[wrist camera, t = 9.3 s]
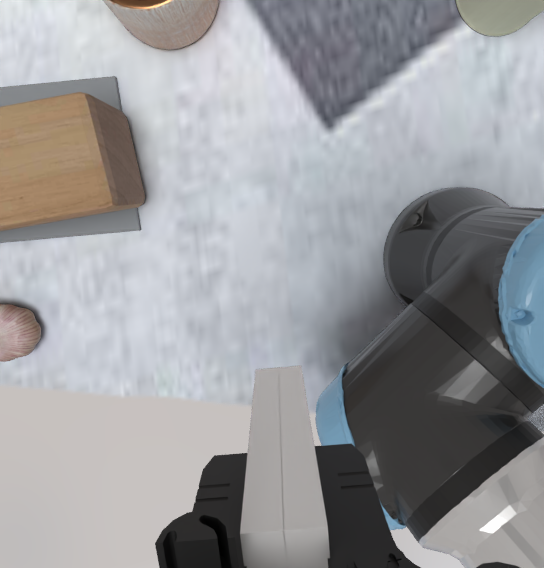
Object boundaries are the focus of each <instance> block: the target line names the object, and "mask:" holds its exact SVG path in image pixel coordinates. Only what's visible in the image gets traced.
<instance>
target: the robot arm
mask: <svg viewBox="0 0 544 568" xmlns="http://www.w3.org/2000/svg"><path fill="white" fill-rule="evenodd" d="M384 269H385V274H386V277H387V280H388V283H389V285H390V287H391V289H392V290H393V292H394V293H395V295H396V296H397V297H398V298H399V299H400V300H401V301H402V302H403V303H404V304H405V305H406V306H407V308H406V309H405V310H404V311H403V312H402V313H401V314H400V315H398V316H397V317H396V318H395V319H394V320H393V321H392V322H391V323H390V324H389V325H388V326H387V327H386V328H385V329H384V330H383V331H382V332H381V333H380V334H379V335H378V336H377V337H376V338H375V339H374V340H373V341H372V342H371V343H370V344H369V345H367V346H366V347H365V348H364V349H363V350H362V351H361V352H360V353H359V354H358V355H357V356H356V357H355V358H354V359H353V360H352V361H351V362H349V363H347V364H345V365H344V366H343V367H342V368H341V370H340V372H339V375H338V376H337V377H336V378H335V379H334V380H333V382H332V383H331V384H330V385H329V386H328V387H327V388H326V389H325V390H324V391H323V393H322V394H321V395H320V397H319V399H318V402H317V405H316V427H317V432H318V436H319V439H320V442H321V445H322V446H314V441H313V435H312V428H311V422H310V416H309V410H308V404H307V398H306V392H305V386H304V380H303V374H302V368H301V366H291V367H279V368H267V369H256V370H255V381H254V391H253V402H252V413H251V423H250V433H249V434H250V435H249V444H248V453H242V454H230V455H217V456H214V457H213V458H212V459H211V461H210V462H209V463H208V464H207V465H206V467H205V468H204V469H203V472H202V475H201V480H200V483H199V489H198V492H197V496H196V503H195V504H194V508H193V511H192V512H189V513H186V514H184V515H182V516H181V517H179V518H177V519H175V520H173V521H172V522H171V523H170V524H169V525H168V526H167V527H166V528H165V529H164V530H163V531H162V532H161V534H160V536H159V538H158V539H157V541H156V543H155V545H156V550H157V555H158V561H159V566H160V568H420V567H419V566H417V565H415V564H414V563H412V562H411V561H410V560H409V559H407V558H406V557H405V555H404V554H403V552H402V551H400V550H399V549H398V548H397V546H396V544H395V542H394V540H393V538H392V536H391V532H390V530H395V529H403V528H405V527H406V526H407V528H408V529H409V530H410V532H411V533H412V534H413V536H414V537H415V539H416V540H417V541H418V543H419V544H420V545H421V546H422V547H423V548H426V549H430V550H434V551H438V552H442V553H446V554H450V555H451V556H453V557H455V558H457V559H458V560H460V562H461V563H462V565H463V566H464V567H465V568H544V434H542V433H541V432H540V431H539V430H538V429H537V428H536V427H535V426H534V425H533V424H531V423H530V422H529V421H528V417H529V416H530V415H531V414H532V413H533V412H534V411H536V410H537V409H538V408H539V407H540V406H541V405H543V404H544V209H541V208H518V207H509V206H508V205H507V204H506V203H505V202H504V201H503V200H501V199H500V198H498V197H497V196H495V195H493V194H491V193H489V192H486V191H483V190H479V189H474V188H445V189H440V190H436V191H433V192H430V193H428V194H426V195H424V196H422V197H420V198H418V199H417V200H415V201H414V202H413V203H411V204H410V205H409V206H408V207H407V208H406V209H405V210H404V211H403V212H402V213H401V214H400V215H399V216H398V218H397V219H396V221H395V222H394V224H393V226H392V227H391V229H390V231H389V234H388V236H387V240H386V243H385V248H384ZM531 412H532V413H531Z"/></svg>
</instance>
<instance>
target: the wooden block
mask: <svg viewBox="0 0 544 568" xmlns="http://www.w3.org/2000/svg"><path fill="white" fill-rule="evenodd" d="M144 201H145V193H144V189H143V185H142V180H141V176H140V172H139V168H138V163H137V159H136V155H135V150H134V146H133V142H132V138H131V133H130V129H129V125H128V121H127V118H126V116H125V115H124V113H123V112H122V111H120V110H118V109H116V108H114V107H112V106H110V105H108V104H107V103H105V102H103V101H101V100H99V99H97V98H95V97H93V96H91V95H90V94H87V93H82V92H76V93H71V94H65V95H60V96H55V97H49V98H44V99H39V100H33V101H28V102H23V103H17V104H12V105H6V106H1V107H0V231H5V230H11V229H17V228H22V227H28V226H34V225H39V224H45V223H51V222H57V221H62V220H68V219H74V218H79V217H85V216H91V215H97V214H102V213H108V212H114V211H119V210H125V209H131V208H137V207H139V206H141V205H142V204H144Z"/></svg>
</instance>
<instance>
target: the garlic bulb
mask: <svg viewBox="0 0 544 568" xmlns="http://www.w3.org/2000/svg"><path fill="white" fill-rule="evenodd" d="M40 337H41V327H40V325H39V324H38V323H37V321H36V320H35V316H34V314H33V313H32V311H30V310H28V309H26V308H19V307H17V306H14V305H10V304H6V305H3V304H0V361H3V362H5V361H10V360H13V359H15V358H18V357H23V356H26V355H28V354H30V353H31V352H32V351H33V350H34V348H35V346H36V344H37V343H38V342H39V340H40Z"/></svg>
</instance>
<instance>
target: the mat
mask: <svg viewBox="0 0 544 568" xmlns="http://www.w3.org/2000/svg"><path fill="white" fill-rule="evenodd" d="M76 92H82V93H87V94H90V95H91V96H93V97H95V98H97V99H99V100H101V101H103V102H105V103H107V104H108V105H110V106H112V107H114V108H116V109H118V110H120V111H122V108H121V102H120V96H119V89H118V83H117V78H116V77H115V76H113V77H102V78H92V79H82V80H72V81H61V82H51V83H41V84H30V85H20V86H10V87H0V107H1V106H6V105H12V104H17V103H23V102H28V101H33V100H39V99H44V98H49V97H55V96H60V95H65V94H71V93H76ZM136 230H141V227H140V220H139V214H138V208H131V209H125V210H119V211H114V212H108V213H102V214H97V215H91V216H85V217H79V218H74V219H68V220H62V221H57V222H51V223H45V224H39V225H34V226H28V227H22V228H17V229H11V230H5V231H0V243H3V242H14V241H25V240H36V239H48V238H59V237H70V236H81V235H92V234H103V233H114V232H125V231H136Z"/></svg>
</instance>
